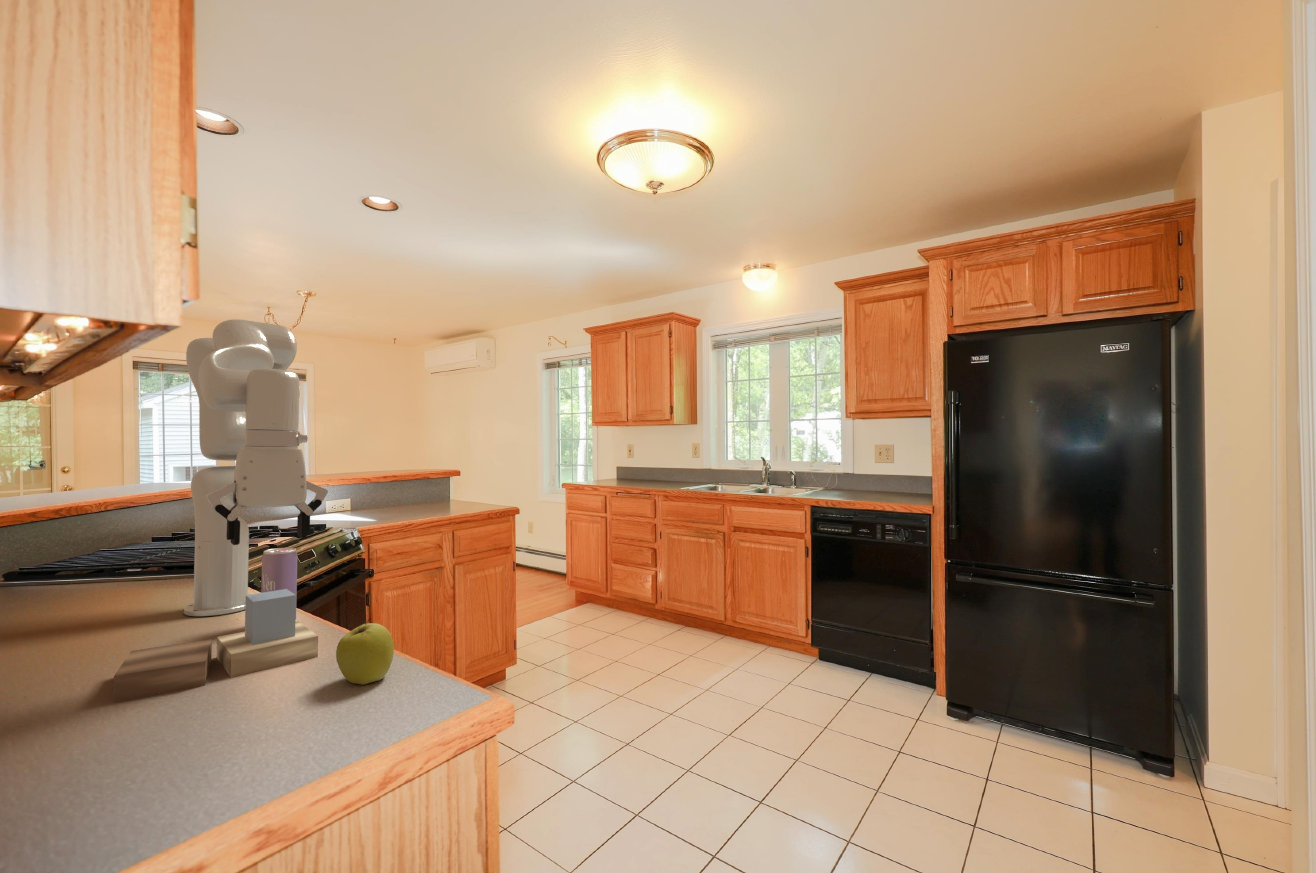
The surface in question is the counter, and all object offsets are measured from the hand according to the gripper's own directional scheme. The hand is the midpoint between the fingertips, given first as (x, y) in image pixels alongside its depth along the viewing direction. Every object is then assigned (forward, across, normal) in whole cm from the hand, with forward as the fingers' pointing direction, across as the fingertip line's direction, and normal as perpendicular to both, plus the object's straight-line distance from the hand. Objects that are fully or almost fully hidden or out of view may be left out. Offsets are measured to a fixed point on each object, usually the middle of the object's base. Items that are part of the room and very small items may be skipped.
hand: (269, 540), depth 96 cm
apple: (+20, -8, +23) cm, 31 cm away
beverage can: (+20, -6, -19) cm, 29 cm away
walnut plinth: (+20, +13, +1) cm, 24 cm away
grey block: (+16, 0, +1) cm, 16 cm away
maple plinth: (+20, 0, +1) cm, 20 cm away
